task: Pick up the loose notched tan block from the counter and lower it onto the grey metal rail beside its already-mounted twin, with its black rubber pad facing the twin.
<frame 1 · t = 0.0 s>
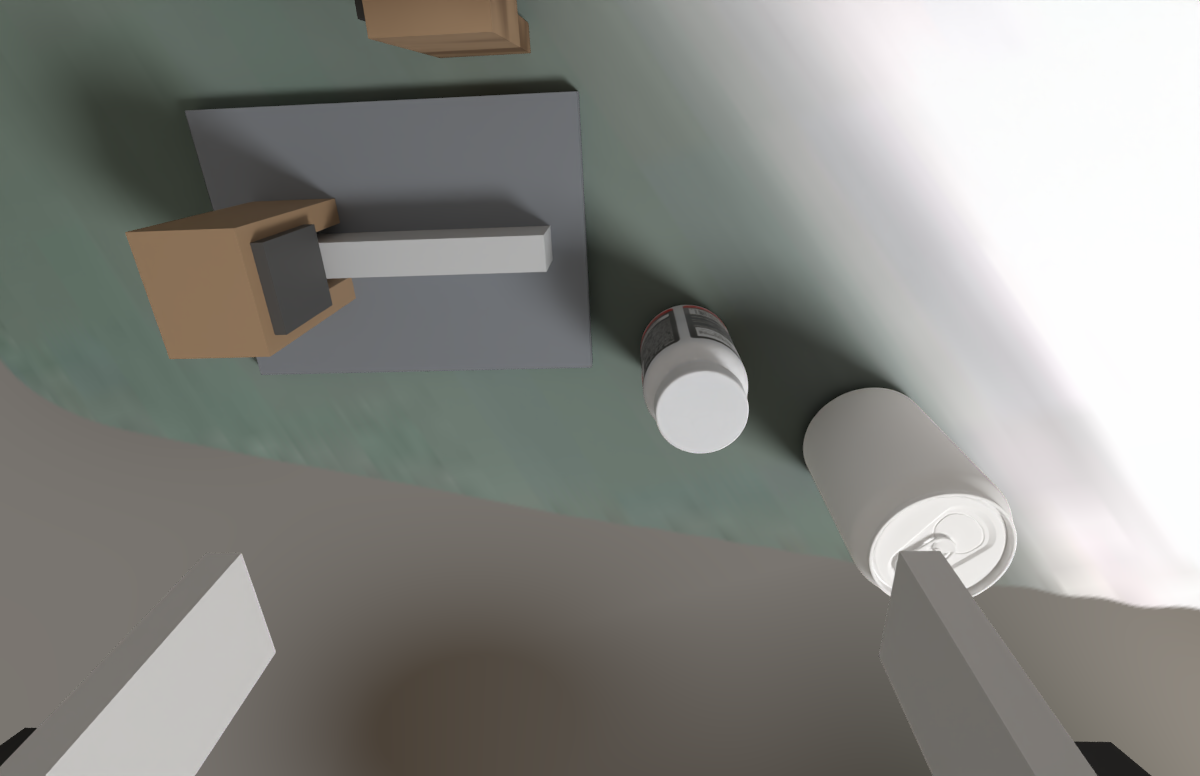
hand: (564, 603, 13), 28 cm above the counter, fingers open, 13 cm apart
pill bottle: (684, 343, 40), on the counter
rail: (408, 244, 38), on the counter
beverage can: (860, 436, 42), on the counter
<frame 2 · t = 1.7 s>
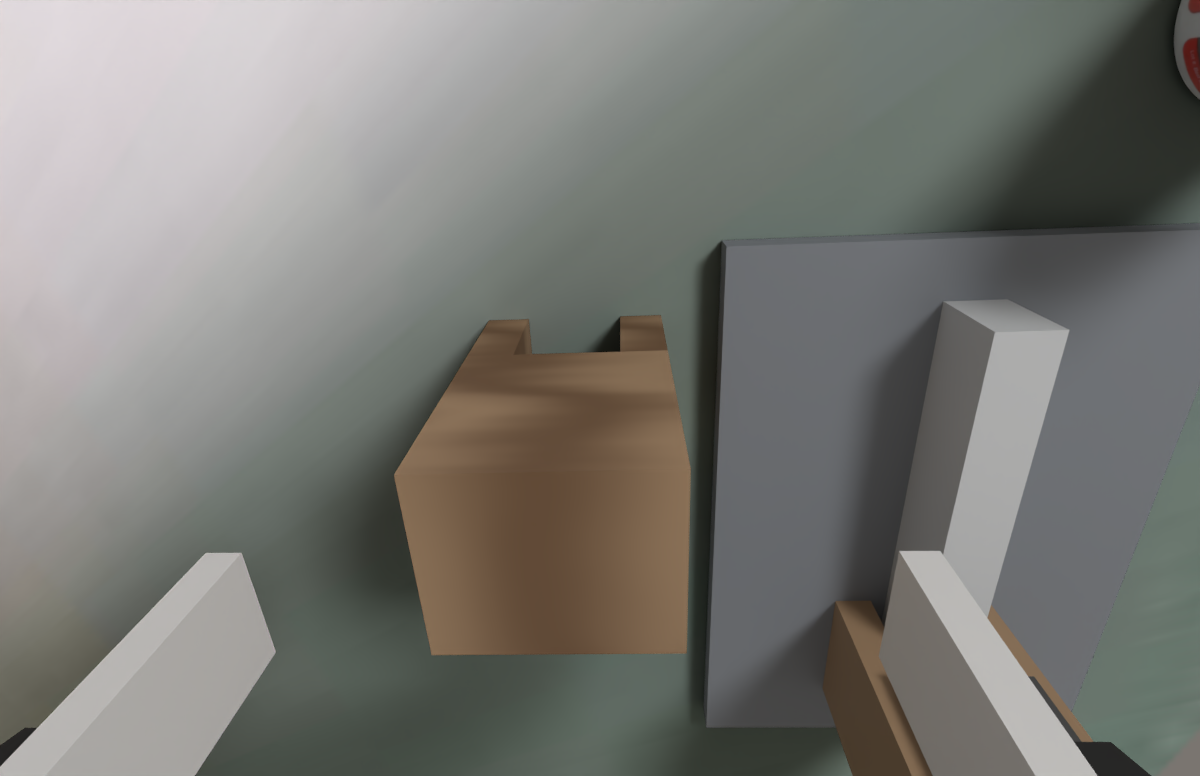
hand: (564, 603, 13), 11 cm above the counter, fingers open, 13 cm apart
rail: (914, 513, 24), on the counter
notched tan block: (578, 383, 23), on the counter
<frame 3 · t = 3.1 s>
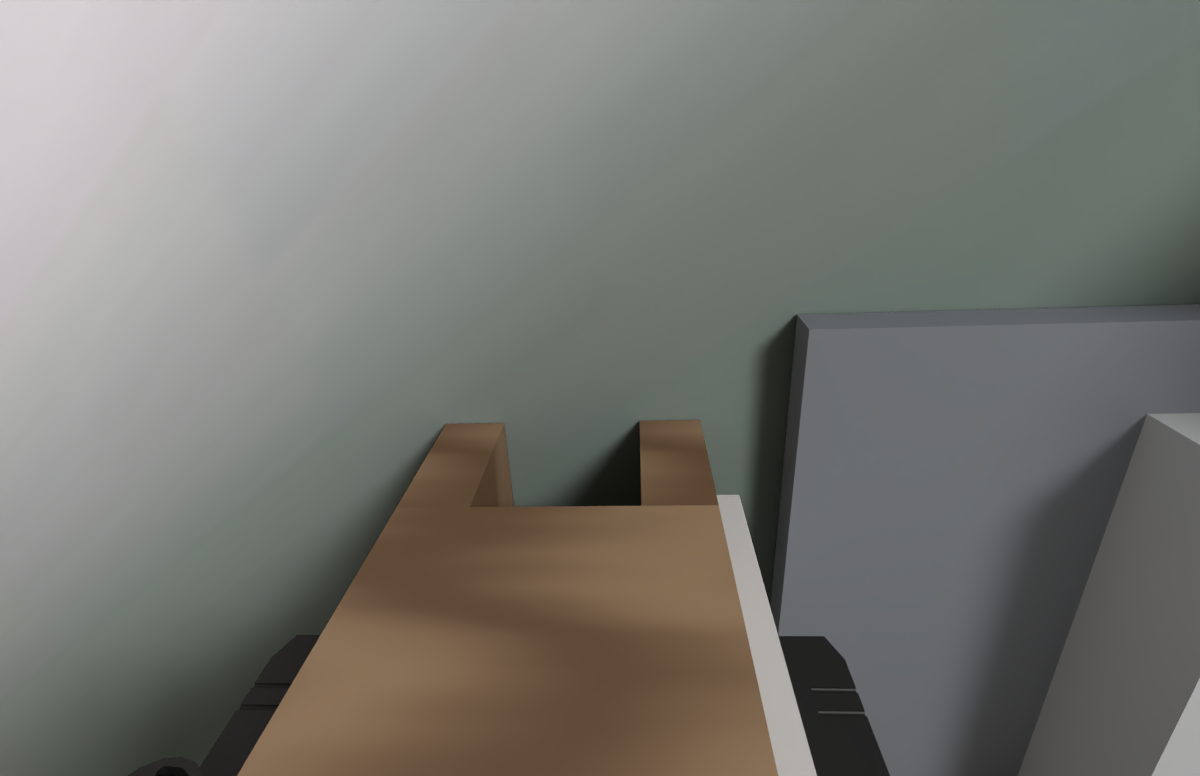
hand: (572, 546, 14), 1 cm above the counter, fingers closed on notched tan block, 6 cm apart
rail: (1054, 686, 17), on the counter
notched tan block: (577, 510, 16), on the counter, touching gripper
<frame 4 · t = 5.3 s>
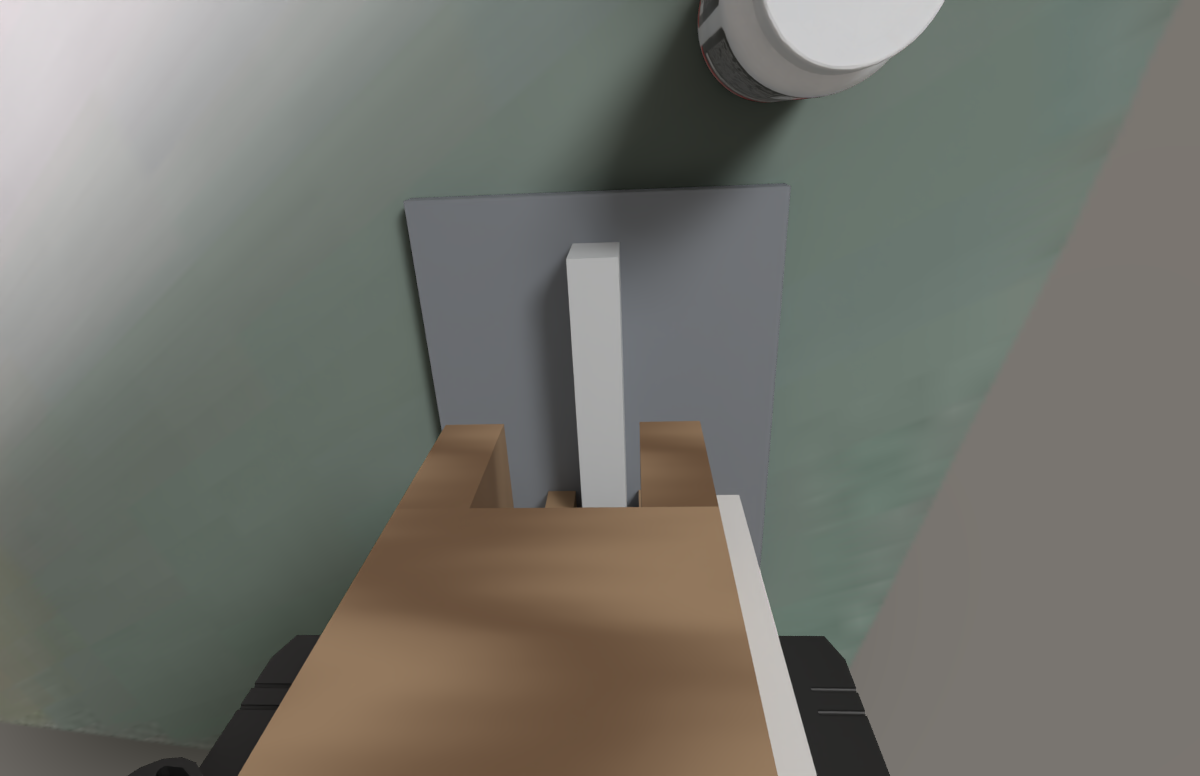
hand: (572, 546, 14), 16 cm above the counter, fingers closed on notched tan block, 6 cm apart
pill bottle: (769, 20, 24), on the counter
rail: (605, 420, 31), on the counter
notched tan block: (577, 511, 16), point 15 cm above the counter, touching gripper
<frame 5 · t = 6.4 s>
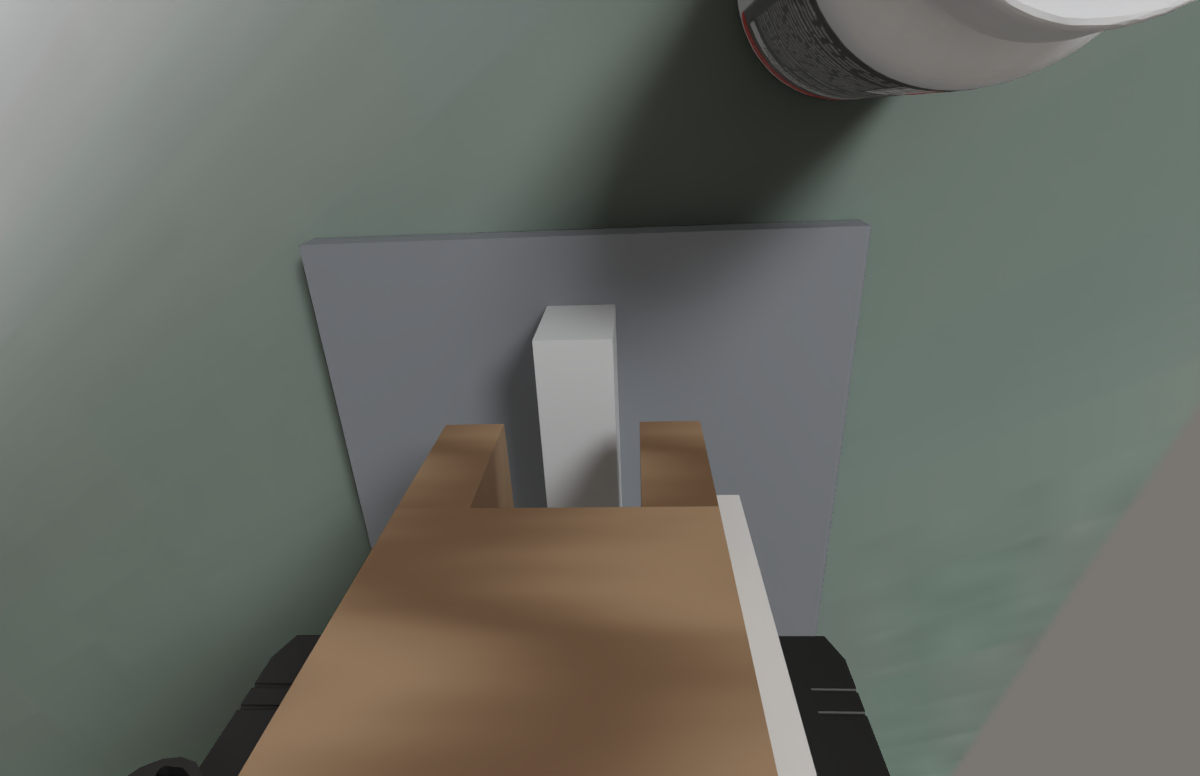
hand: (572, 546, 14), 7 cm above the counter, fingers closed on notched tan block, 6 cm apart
rail: (596, 535, 23), on the counter
notched tan block: (577, 511, 16), point 6 cm above the counter, touching gripper
when the fingers open (4 cm above the counter, at t = 7.3 s): notched tan block drops 1 cm, resting on rail.
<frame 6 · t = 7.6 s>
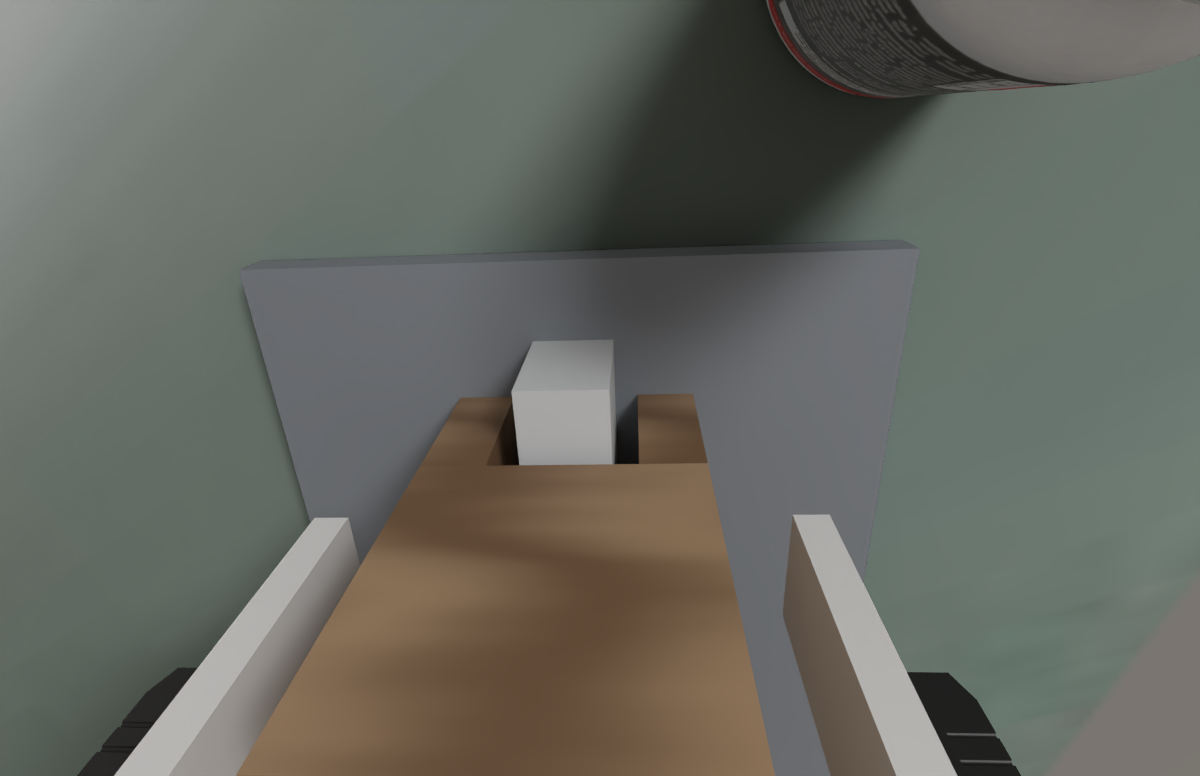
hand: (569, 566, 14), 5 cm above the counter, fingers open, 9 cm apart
rail: (592, 593, 20), on the counter
notched tan block: (580, 478, 17), point 1 cm above the counter, touching rail
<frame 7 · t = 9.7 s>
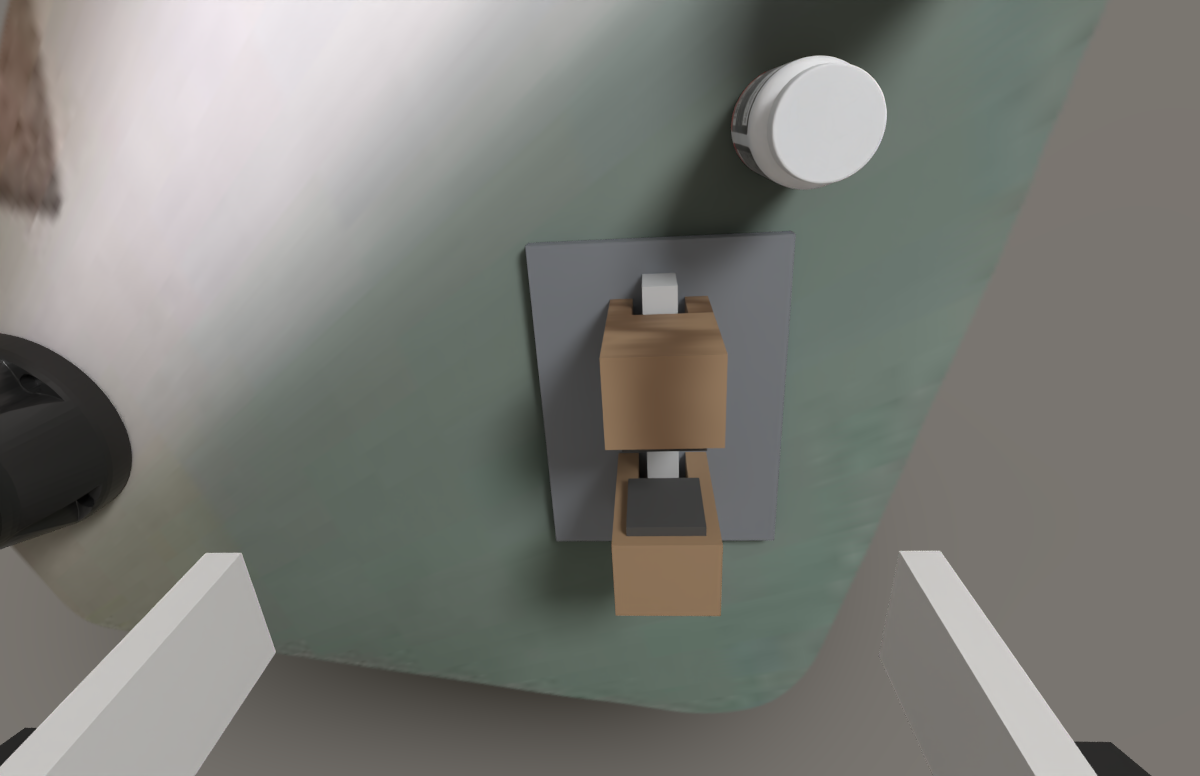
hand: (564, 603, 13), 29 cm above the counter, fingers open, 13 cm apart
pill bottle: (780, 123, 35), on the counter
rail: (660, 400, 42), on the counter
notched tan block: (659, 335, 39), point 1 cm above the counter, touching rail
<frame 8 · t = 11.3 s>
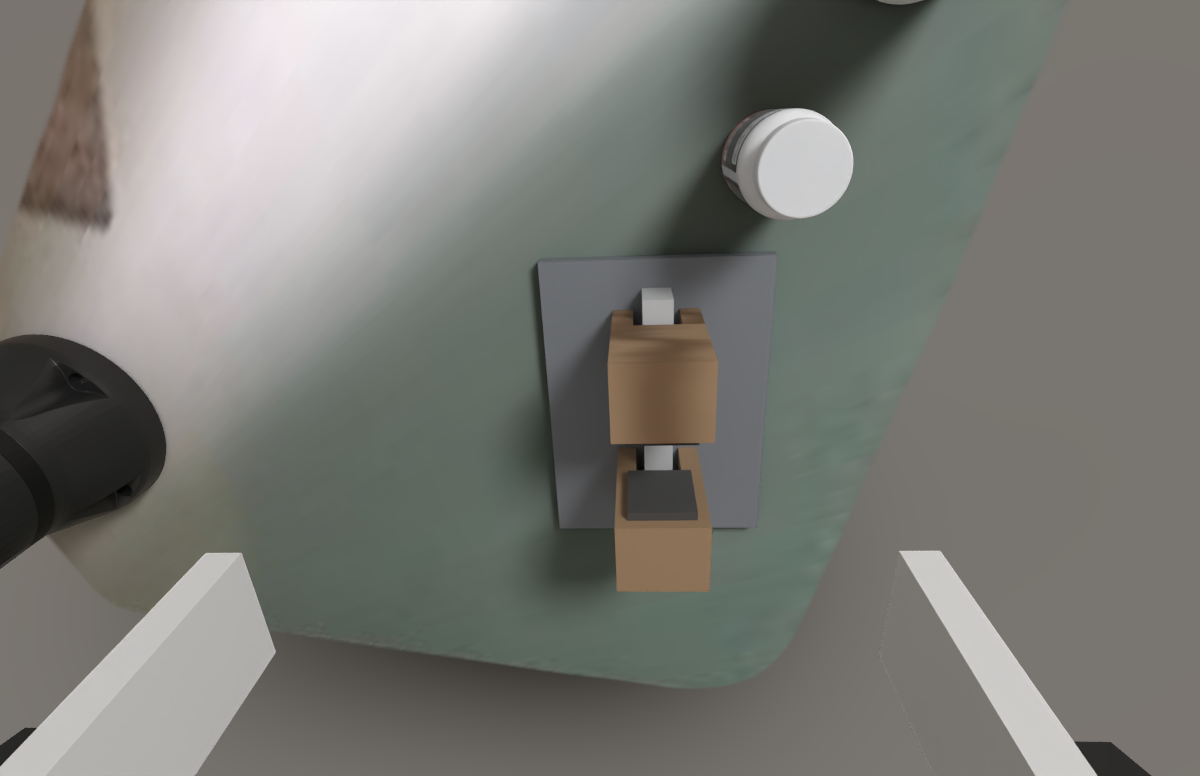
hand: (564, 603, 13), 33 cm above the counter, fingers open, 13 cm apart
pill bottle: (764, 157, 40), on the counter
rail: (656, 400, 47), on the counter
notched tan block: (656, 343, 44), point 1 cm above the counter, touching rail
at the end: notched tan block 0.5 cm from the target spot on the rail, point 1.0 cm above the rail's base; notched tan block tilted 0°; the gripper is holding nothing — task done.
